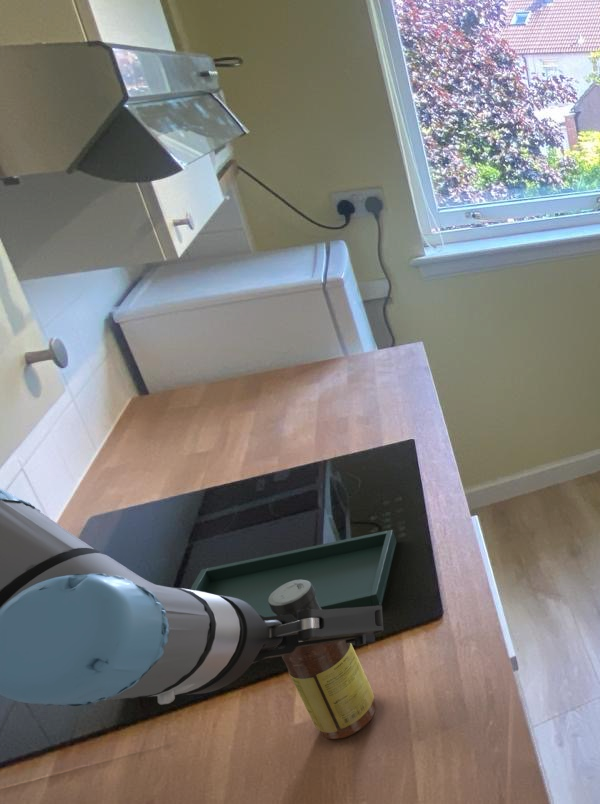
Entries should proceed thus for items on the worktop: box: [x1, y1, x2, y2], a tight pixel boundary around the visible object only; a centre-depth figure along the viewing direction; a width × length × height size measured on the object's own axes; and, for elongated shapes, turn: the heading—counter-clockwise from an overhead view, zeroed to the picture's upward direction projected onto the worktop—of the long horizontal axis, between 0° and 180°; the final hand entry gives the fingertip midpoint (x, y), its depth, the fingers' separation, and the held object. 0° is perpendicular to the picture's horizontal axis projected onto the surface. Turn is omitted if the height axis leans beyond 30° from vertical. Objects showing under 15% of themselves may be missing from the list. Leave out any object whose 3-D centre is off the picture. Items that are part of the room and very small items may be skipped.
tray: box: [189, 529, 397, 617], centre depth 106 cm, size 26×16×3 cm, turn 109°
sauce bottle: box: [268, 580, 377, 740], centre depth 83 cm, size 6×6×20 cm
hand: (298, 647), depth 77 cm, fingers open, 13 cm apart
